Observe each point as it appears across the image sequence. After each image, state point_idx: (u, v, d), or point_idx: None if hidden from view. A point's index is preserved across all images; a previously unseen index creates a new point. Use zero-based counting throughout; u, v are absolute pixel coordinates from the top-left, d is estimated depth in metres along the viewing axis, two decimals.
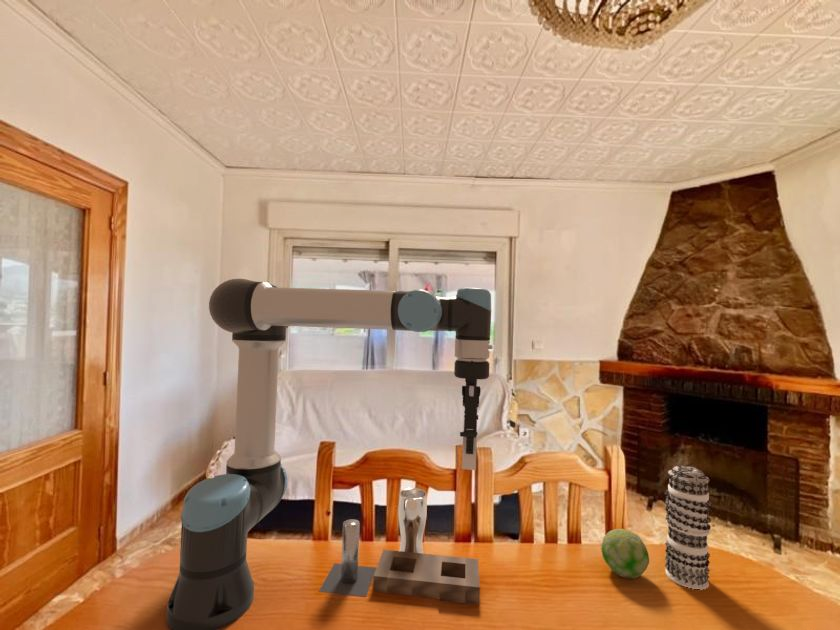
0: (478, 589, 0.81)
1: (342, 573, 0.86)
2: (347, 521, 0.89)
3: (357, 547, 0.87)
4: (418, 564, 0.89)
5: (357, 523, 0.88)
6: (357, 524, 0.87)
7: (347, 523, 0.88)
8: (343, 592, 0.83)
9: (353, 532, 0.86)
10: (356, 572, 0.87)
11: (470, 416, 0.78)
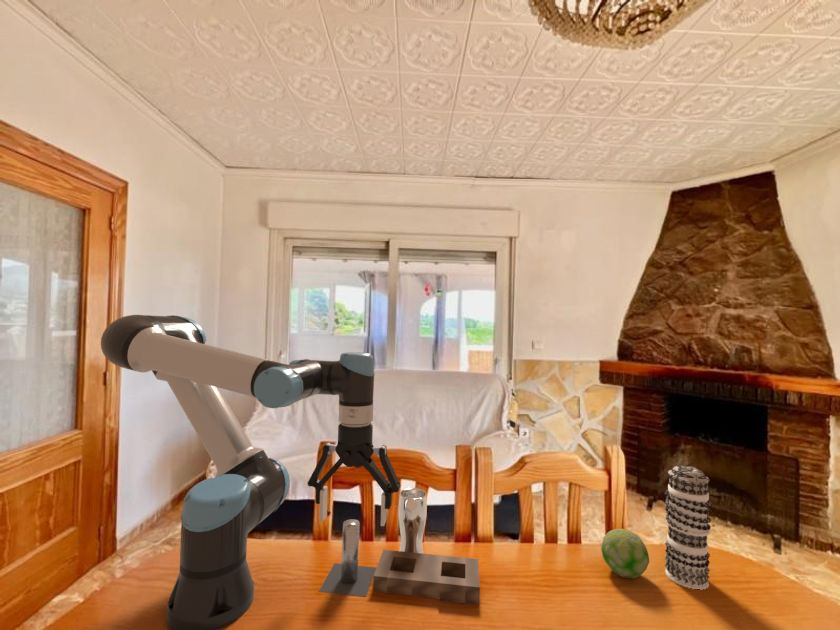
0: (478, 589, 0.81)
1: (342, 573, 0.86)
2: (347, 521, 0.89)
3: (357, 547, 0.87)
4: (418, 564, 0.89)
5: (357, 523, 0.88)
6: (357, 524, 0.87)
7: (347, 523, 0.88)
8: (343, 592, 0.83)
9: (353, 532, 0.86)
10: (356, 572, 0.87)
11: None
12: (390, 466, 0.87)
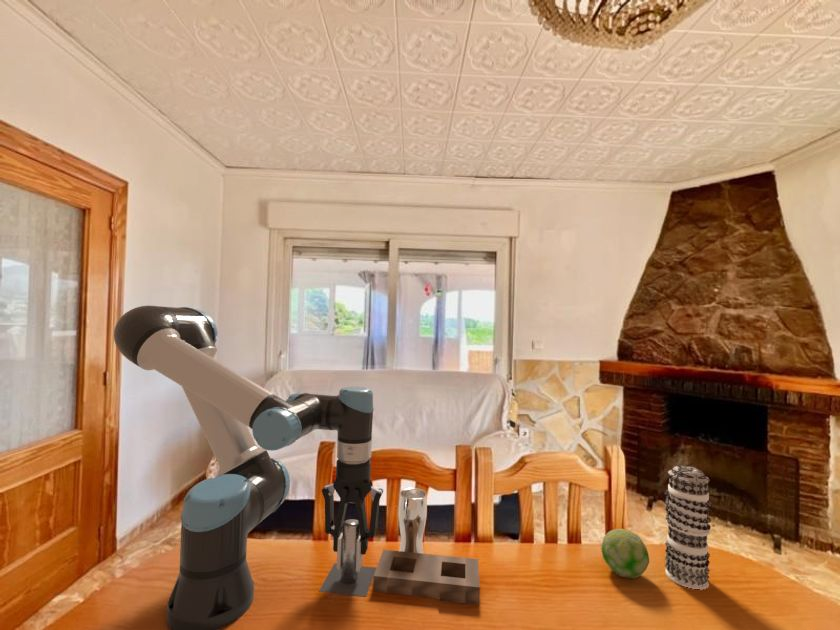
0: (478, 589, 0.81)
1: (342, 572, 0.86)
2: (347, 521, 0.89)
3: None
4: (418, 564, 0.89)
5: (357, 523, 0.88)
6: (357, 524, 0.87)
7: (347, 523, 0.88)
8: (343, 592, 0.83)
9: (353, 532, 0.86)
10: (356, 572, 0.87)
11: None
12: (377, 511, 0.87)
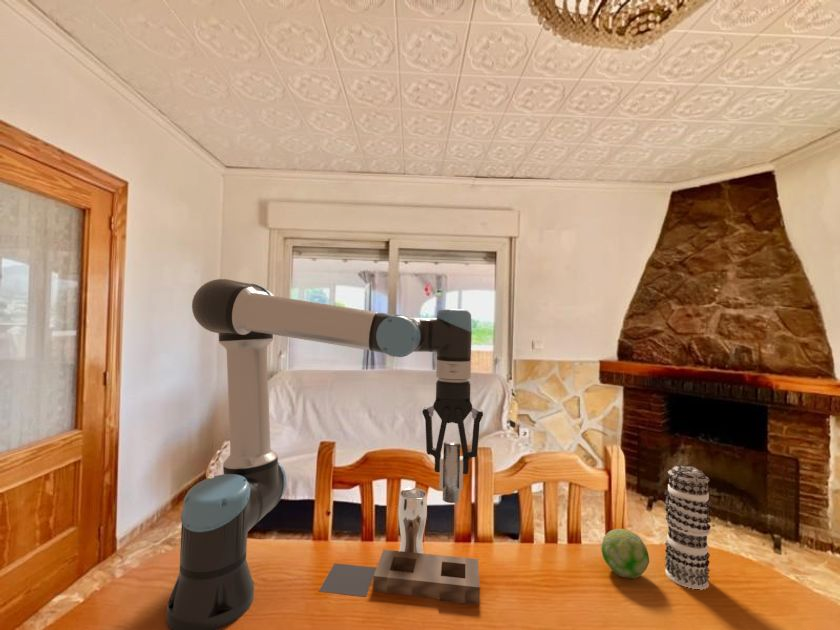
0: (478, 589, 0.81)
1: (445, 492, 0.86)
2: (447, 442, 0.88)
3: (459, 467, 0.87)
4: (418, 564, 0.89)
5: (457, 444, 0.88)
6: (458, 444, 0.87)
7: (448, 443, 0.88)
8: (343, 592, 0.83)
9: (456, 451, 0.86)
10: (458, 492, 0.87)
11: None
12: None
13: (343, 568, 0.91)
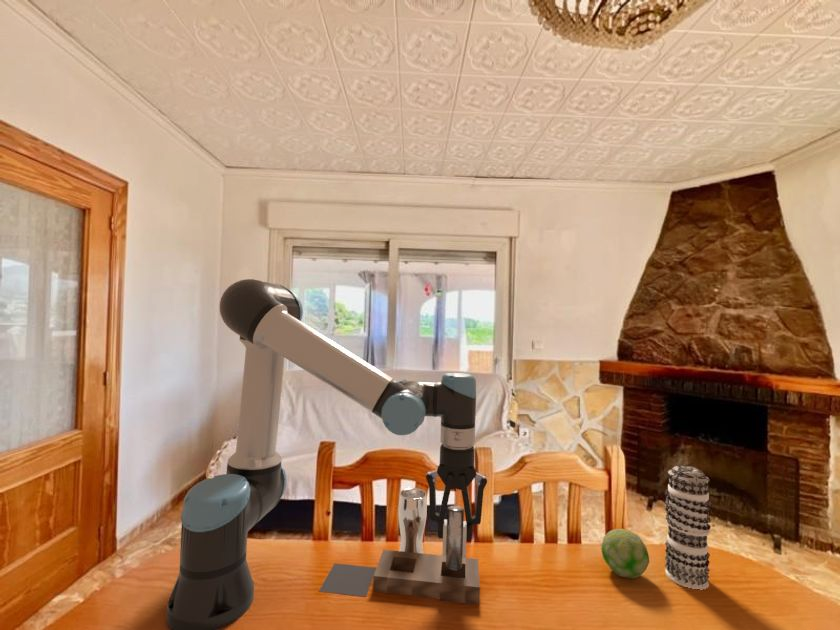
0: (478, 589, 0.81)
1: (449, 559, 0.86)
2: (450, 507, 0.88)
3: (462, 533, 0.87)
4: (418, 564, 0.89)
5: (461, 509, 0.87)
6: (462, 510, 0.87)
7: (451, 509, 0.87)
8: (343, 592, 0.83)
9: (460, 518, 0.86)
10: (461, 559, 0.86)
11: None
12: None
13: (343, 568, 0.91)
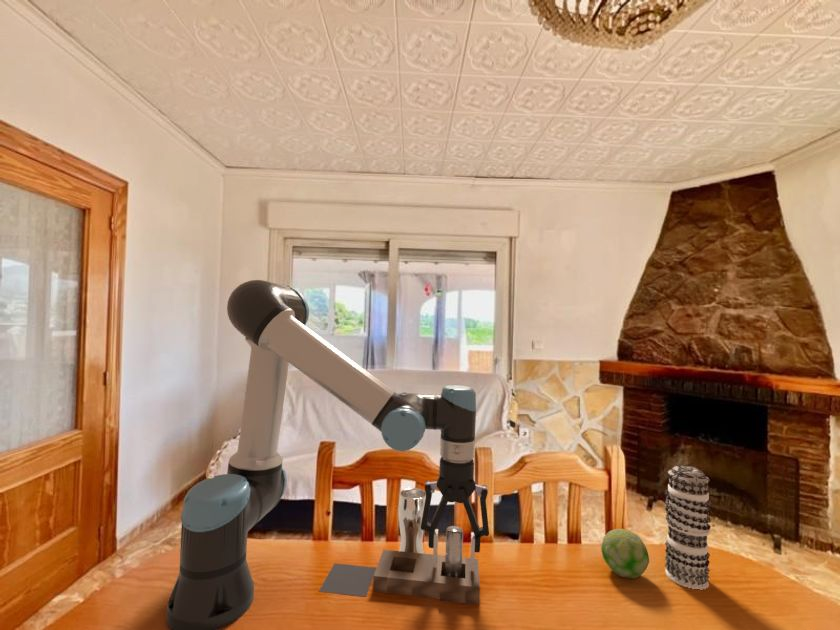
0: (478, 589, 0.81)
1: None
2: (450, 528, 0.88)
3: (461, 554, 0.86)
4: (418, 564, 0.89)
5: (460, 530, 0.87)
6: (461, 531, 0.87)
7: (451, 530, 0.87)
8: (343, 592, 0.83)
9: (459, 539, 0.86)
10: None
11: None
12: None
13: (343, 568, 0.91)
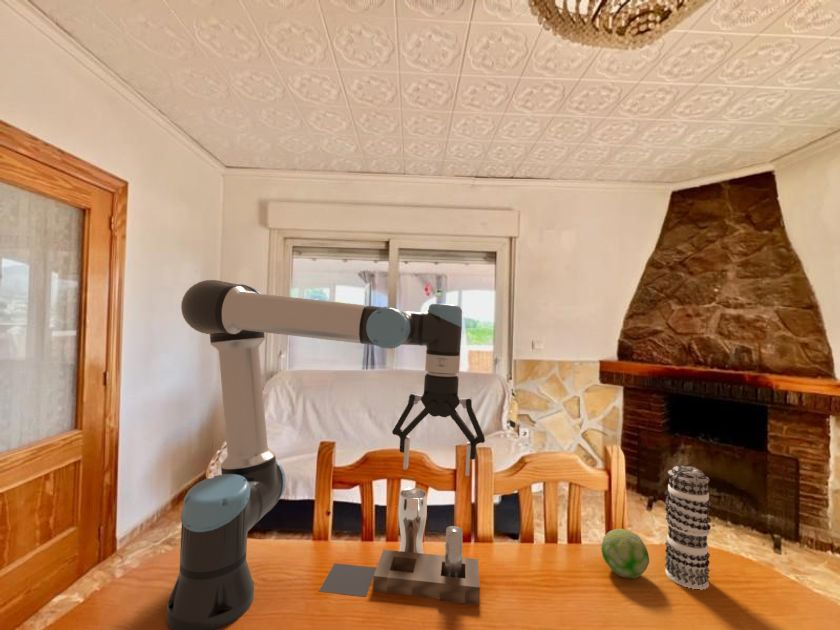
0: (478, 589, 0.81)
1: None
2: (449, 528, 0.88)
3: (461, 554, 0.86)
4: (418, 564, 0.89)
5: (460, 530, 0.87)
6: (461, 531, 0.87)
7: (450, 530, 0.87)
8: (343, 592, 0.83)
9: (458, 539, 0.86)
10: None
11: None
12: (475, 417, 0.88)
13: (343, 568, 0.91)
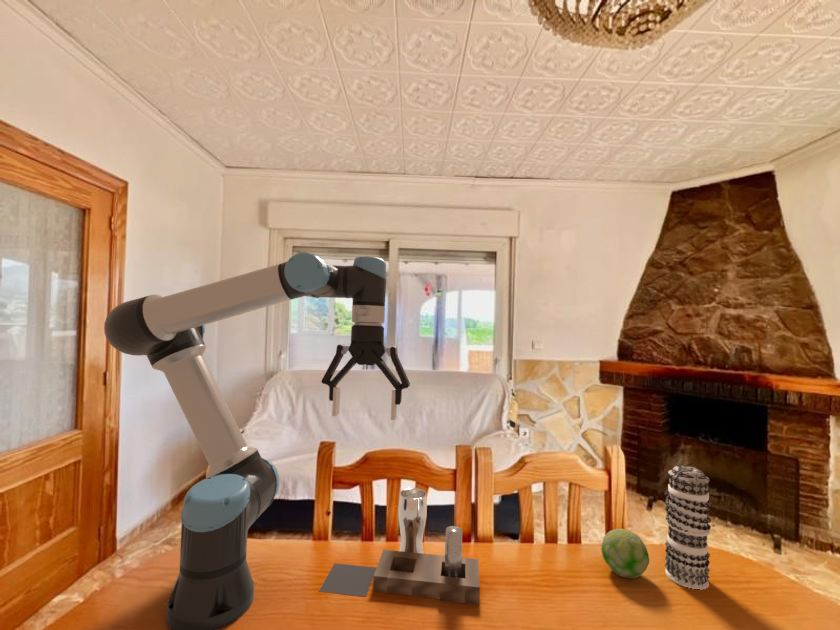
0: (478, 589, 0.81)
1: None
2: (449, 528, 0.88)
3: (461, 554, 0.86)
4: (418, 564, 0.89)
5: (459, 530, 0.87)
6: (460, 531, 0.87)
7: (450, 530, 0.87)
8: (343, 592, 0.83)
9: (458, 539, 0.86)
10: None
11: None
12: (400, 365, 0.92)
13: (343, 568, 0.91)
